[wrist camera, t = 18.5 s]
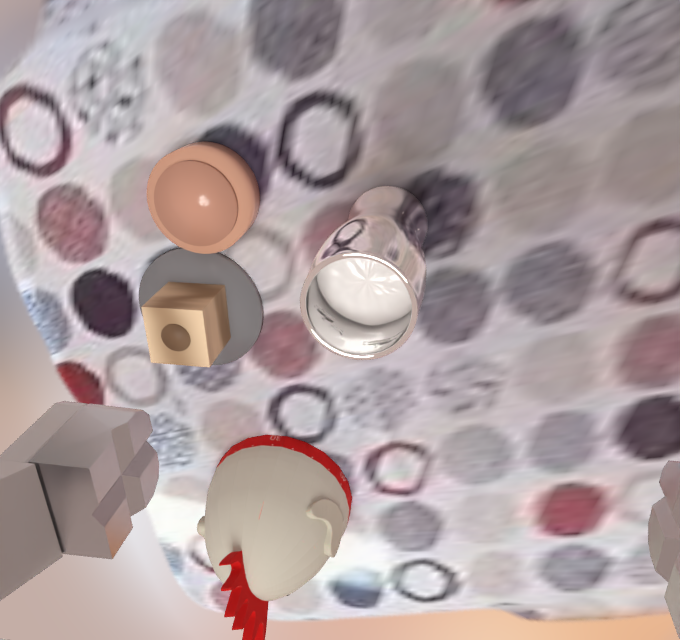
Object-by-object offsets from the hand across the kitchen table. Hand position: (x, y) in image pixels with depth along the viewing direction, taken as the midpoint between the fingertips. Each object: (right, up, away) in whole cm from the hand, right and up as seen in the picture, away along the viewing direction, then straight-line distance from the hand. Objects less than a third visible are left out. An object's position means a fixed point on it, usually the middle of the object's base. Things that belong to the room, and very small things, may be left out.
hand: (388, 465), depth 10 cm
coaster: (-13, +4, +43) cm, 45 cm away
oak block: (-13, +3, +43) cm, 45 cm away
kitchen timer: (-6, -15, +51) cm, 54 cm away
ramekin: (-11, +12, +39) cm, 42 cm away
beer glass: (+3, +10, +37) cm, 38 cm away
